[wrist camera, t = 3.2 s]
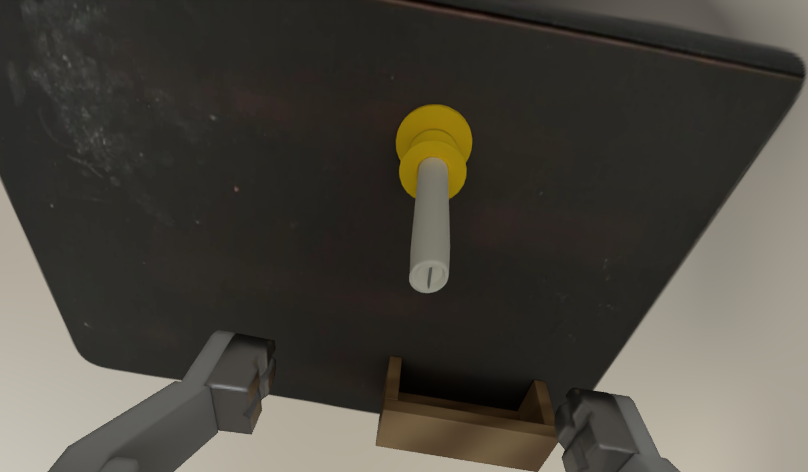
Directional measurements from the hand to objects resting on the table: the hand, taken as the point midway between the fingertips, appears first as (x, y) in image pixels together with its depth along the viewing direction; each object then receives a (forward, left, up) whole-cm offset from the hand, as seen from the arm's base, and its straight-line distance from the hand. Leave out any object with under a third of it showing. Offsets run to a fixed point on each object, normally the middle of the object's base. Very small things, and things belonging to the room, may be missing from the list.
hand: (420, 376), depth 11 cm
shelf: (-8, +25, -19) cm, 33 cm away
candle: (0, 0, -20) cm, 20 cm away
